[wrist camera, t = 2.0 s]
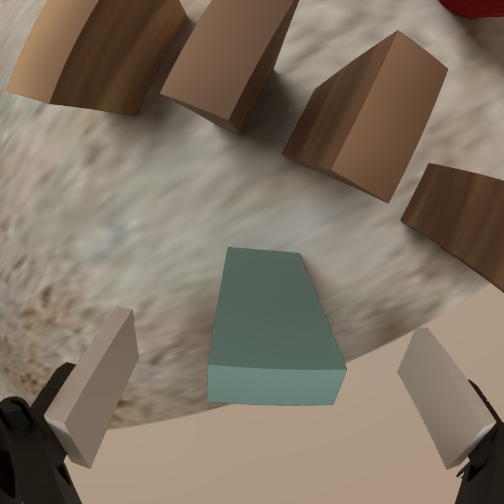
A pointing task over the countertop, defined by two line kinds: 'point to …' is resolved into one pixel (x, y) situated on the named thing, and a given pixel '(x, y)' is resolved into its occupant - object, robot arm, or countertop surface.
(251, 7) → the domino
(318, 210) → the countertop surface
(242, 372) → the domino
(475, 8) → the plastic cup
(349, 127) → the domino
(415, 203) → the domino
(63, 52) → the block
